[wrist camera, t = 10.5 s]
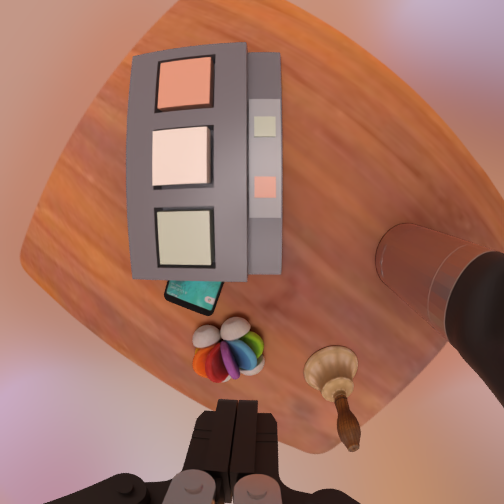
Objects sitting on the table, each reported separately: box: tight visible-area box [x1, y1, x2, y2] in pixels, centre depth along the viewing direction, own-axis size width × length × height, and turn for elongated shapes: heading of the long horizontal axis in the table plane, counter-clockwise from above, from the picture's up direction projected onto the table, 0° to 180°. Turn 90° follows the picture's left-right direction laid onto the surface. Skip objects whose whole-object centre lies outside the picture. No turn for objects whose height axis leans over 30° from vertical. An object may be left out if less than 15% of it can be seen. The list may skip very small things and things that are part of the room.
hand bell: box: [304, 346, 361, 452], centre depth 32 cm, size 8×8×16 cm
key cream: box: [152, 127, 211, 186], centre depth 30 cm, size 6×6×2 cm
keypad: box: [126, 42, 282, 282], centre depth 32 cm, size 18×28×4 cm, turn 0°
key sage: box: [157, 209, 215, 265], centre depth 33 cm, size 6×6×2 cm
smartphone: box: [164, 280, 224, 316], centre depth 37 cm, size 7×1×15 cm
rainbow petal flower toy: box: [193, 317, 265, 383], centre depth 36 cm, size 8×10×7 cm
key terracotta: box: [158, 57, 214, 112], centre depth 29 cm, size 6×6×2 cm
